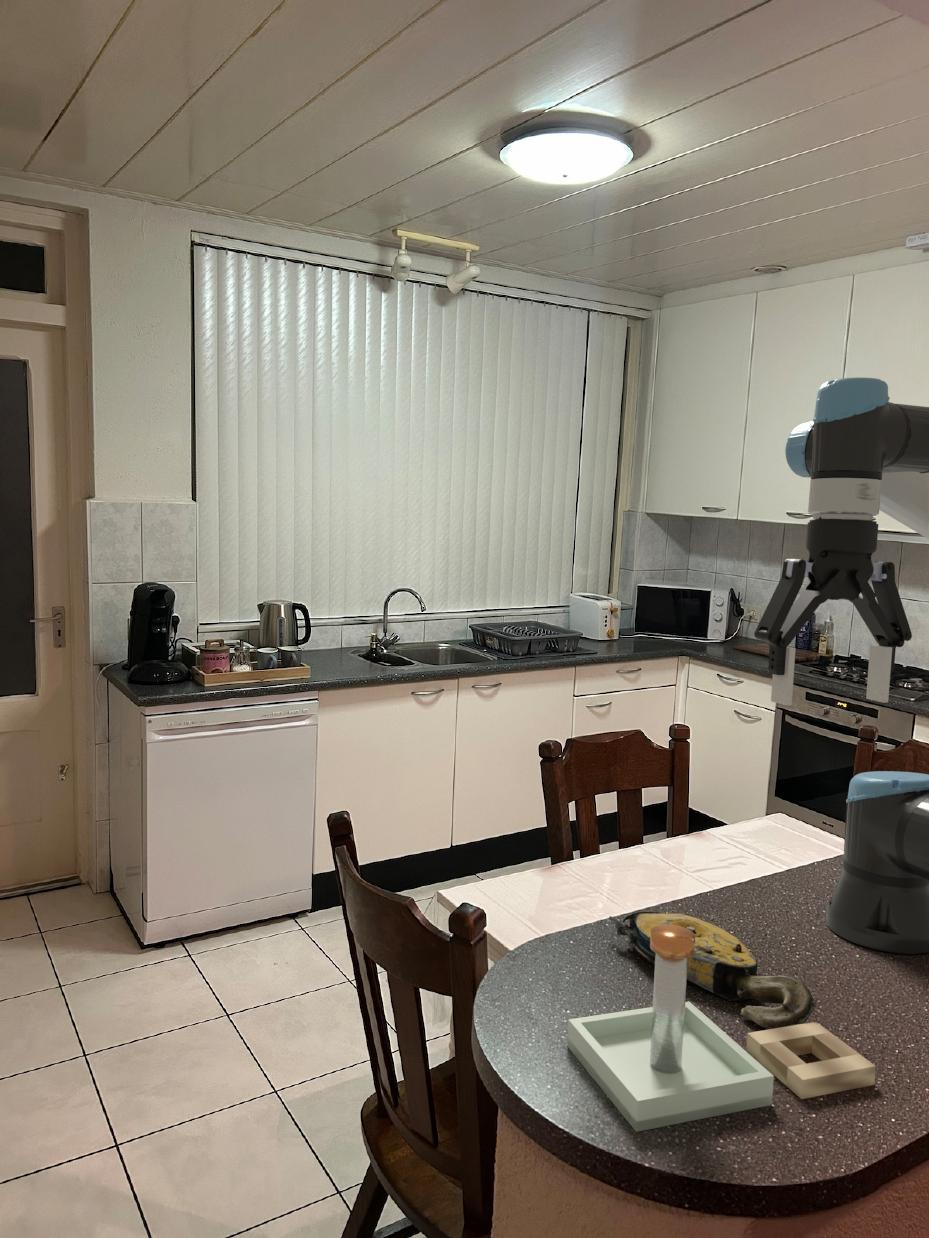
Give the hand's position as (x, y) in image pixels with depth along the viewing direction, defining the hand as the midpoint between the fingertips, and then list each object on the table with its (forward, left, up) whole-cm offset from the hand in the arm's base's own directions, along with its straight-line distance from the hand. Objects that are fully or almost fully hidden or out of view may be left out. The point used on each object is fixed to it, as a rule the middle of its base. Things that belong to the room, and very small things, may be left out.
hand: (830, 702), depth 107 cm
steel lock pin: (+25, +8, -36) cm, 44 cm away
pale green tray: (+25, +8, -37) cm, 45 cm away
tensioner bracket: (+9, +11, -37) cm, 39 cm away
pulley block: (+8, -9, -37) cm, 39 cm away
